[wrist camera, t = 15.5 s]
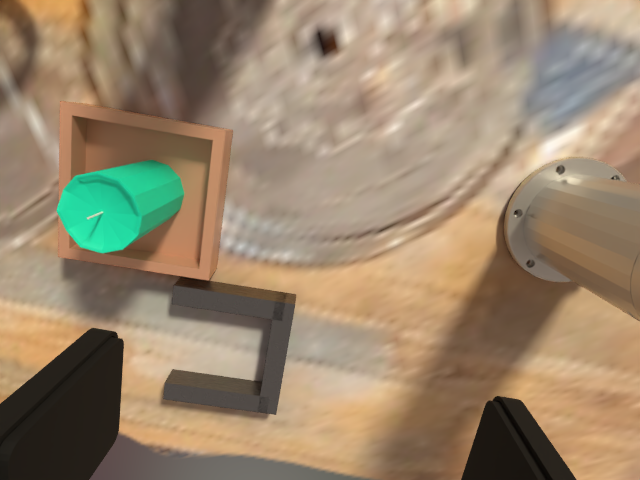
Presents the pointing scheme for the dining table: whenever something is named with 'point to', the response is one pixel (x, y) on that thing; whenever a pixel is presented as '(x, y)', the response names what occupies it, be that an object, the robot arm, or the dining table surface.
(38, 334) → the dining table surface
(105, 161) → the tray
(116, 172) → the candle
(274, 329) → the dock
